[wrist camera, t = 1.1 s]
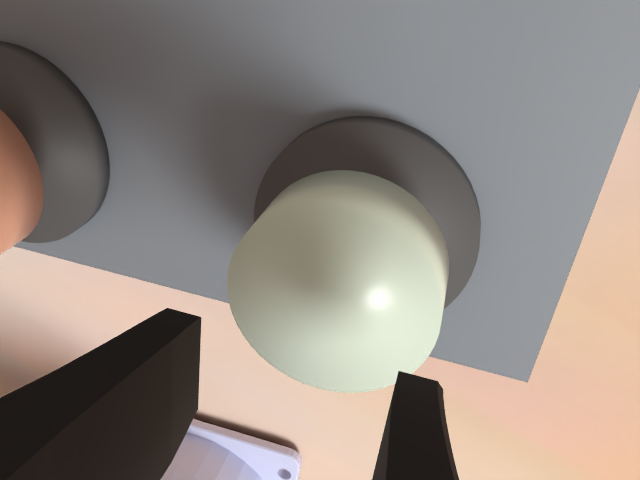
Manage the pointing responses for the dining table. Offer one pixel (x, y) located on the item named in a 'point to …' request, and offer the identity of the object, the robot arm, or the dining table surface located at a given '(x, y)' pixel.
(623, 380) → the dining table surface
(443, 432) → the robot arm
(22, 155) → the terracotta button
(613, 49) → the control panel
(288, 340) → the sage button
